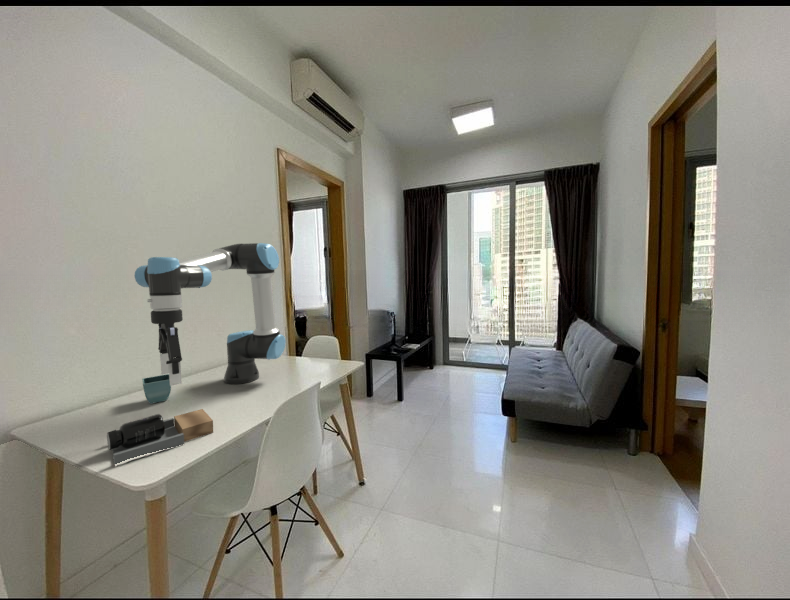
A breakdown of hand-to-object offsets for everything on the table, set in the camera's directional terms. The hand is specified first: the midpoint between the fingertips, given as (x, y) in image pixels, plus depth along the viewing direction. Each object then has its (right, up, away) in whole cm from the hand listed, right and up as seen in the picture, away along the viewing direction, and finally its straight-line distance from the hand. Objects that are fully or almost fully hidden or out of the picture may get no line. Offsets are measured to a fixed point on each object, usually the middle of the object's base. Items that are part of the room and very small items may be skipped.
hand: (171, 378), depth 92 cm
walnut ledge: (+4, -18, +5) cm, 19 cm away
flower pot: (-26, -16, +28) cm, 42 cm away
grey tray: (-4, -18, -3) cm, 19 cm away
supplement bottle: (-3, -14, +1) cm, 14 cm away
